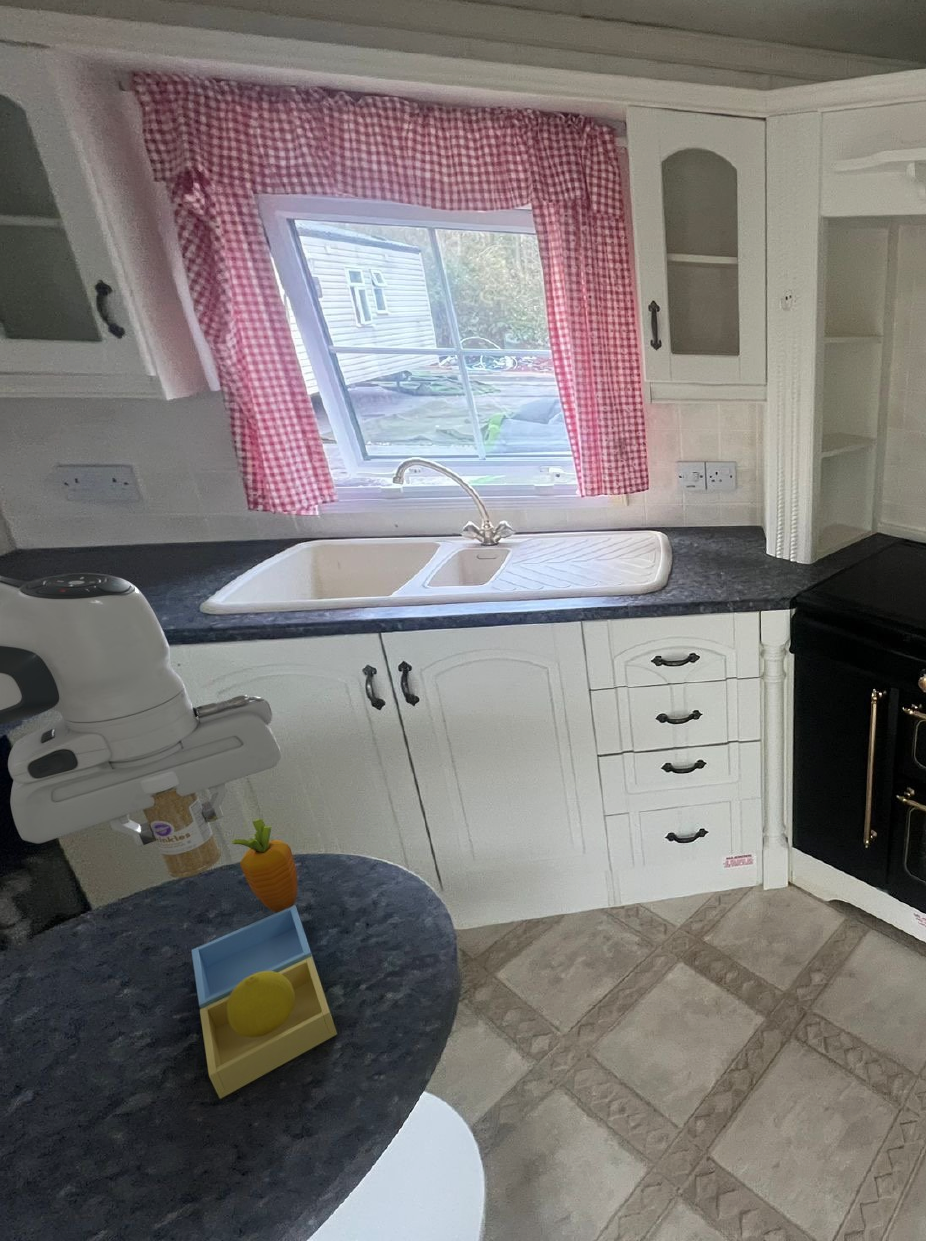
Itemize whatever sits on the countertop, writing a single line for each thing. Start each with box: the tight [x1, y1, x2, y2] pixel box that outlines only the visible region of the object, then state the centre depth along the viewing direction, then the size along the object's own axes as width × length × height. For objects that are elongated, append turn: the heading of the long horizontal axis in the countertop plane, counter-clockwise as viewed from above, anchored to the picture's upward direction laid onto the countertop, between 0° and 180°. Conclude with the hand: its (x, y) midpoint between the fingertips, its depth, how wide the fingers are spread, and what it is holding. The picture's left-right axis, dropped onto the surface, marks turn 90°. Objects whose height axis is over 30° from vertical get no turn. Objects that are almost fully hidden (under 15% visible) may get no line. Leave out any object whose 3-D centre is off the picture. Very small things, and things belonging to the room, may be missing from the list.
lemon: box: [227, 971, 295, 1037], centre depth 76 cm, size 6×6×8 cm
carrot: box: [231, 818, 298, 914], centre depth 90 cm, size 5×5×15 cm
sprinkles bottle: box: [140, 772, 222, 879], centre depth 76 cm, size 5×5×14 cm
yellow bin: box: [199, 956, 338, 1100], centre depth 77 cm, size 10×10×4 cm
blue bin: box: [190, 904, 319, 1010], centre depth 84 cm, size 10×10×4 cm
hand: (181, 829), depth 77 cm, fingers closed on sprinkles bottle, 4 cm apart
